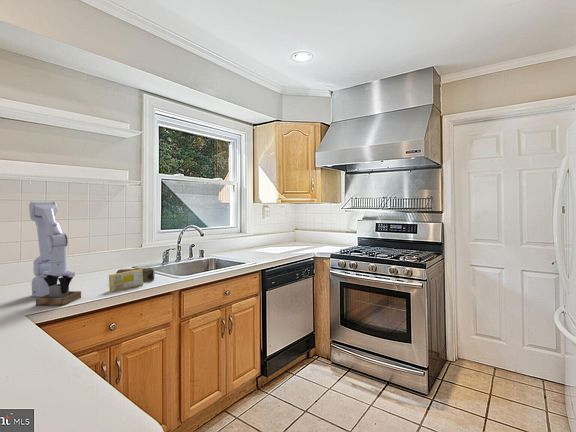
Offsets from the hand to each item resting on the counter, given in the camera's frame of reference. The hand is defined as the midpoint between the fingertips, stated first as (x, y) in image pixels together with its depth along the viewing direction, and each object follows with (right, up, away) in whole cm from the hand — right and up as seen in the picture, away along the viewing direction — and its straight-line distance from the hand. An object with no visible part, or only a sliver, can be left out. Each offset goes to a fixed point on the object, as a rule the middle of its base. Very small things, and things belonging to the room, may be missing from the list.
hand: (59, 292), depth 142 cm
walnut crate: (0, -4, 0) cm, 4 cm away
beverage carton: (+15, -3, +39) cm, 42 cm away
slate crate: (0, -2, 0) cm, 2 cm away
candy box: (+18, -3, +23) cm, 29 cm away
